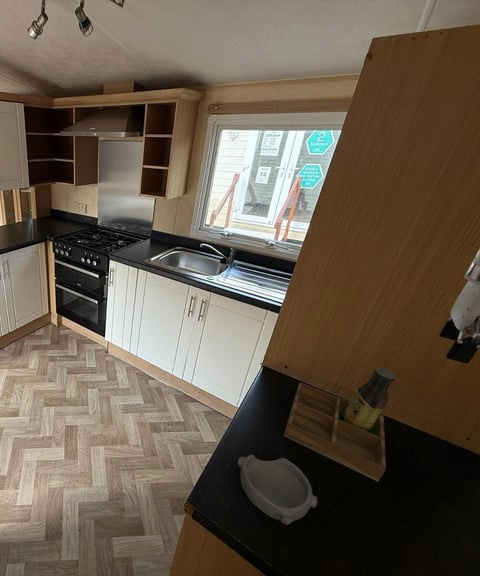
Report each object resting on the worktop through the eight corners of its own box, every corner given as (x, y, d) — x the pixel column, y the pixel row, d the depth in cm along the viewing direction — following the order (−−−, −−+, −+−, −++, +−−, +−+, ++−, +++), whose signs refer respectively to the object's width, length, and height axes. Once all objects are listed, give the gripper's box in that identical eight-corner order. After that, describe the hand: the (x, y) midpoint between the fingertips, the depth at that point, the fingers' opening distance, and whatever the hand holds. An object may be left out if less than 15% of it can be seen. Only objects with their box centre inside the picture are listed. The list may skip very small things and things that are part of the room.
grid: (295, 393, 99) (300, 382, 97) (376, 426, 88) (383, 414, 86) (283, 435, 85) (288, 424, 83) (378, 481, 74) (386, 469, 72)
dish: (227, 469, 76) (231, 455, 74) (276, 458, 79) (281, 445, 77) (267, 536, 64) (274, 522, 61) (324, 520, 66) (333, 507, 64)
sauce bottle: (339, 413, 91) (365, 359, 82) (365, 421, 88) (396, 367, 79) (343, 430, 85) (372, 375, 77) (371, 440, 83) (405, 383, 74)
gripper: (545, 298, 51) (488, 378, 58) (513, 266, 63) (469, 336, 71) (477, 286, 55) (432, 362, 63) (459, 258, 67) (424, 325, 75)
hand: (452, 348), depth 67 cm, fingers open, 9 cm apart
